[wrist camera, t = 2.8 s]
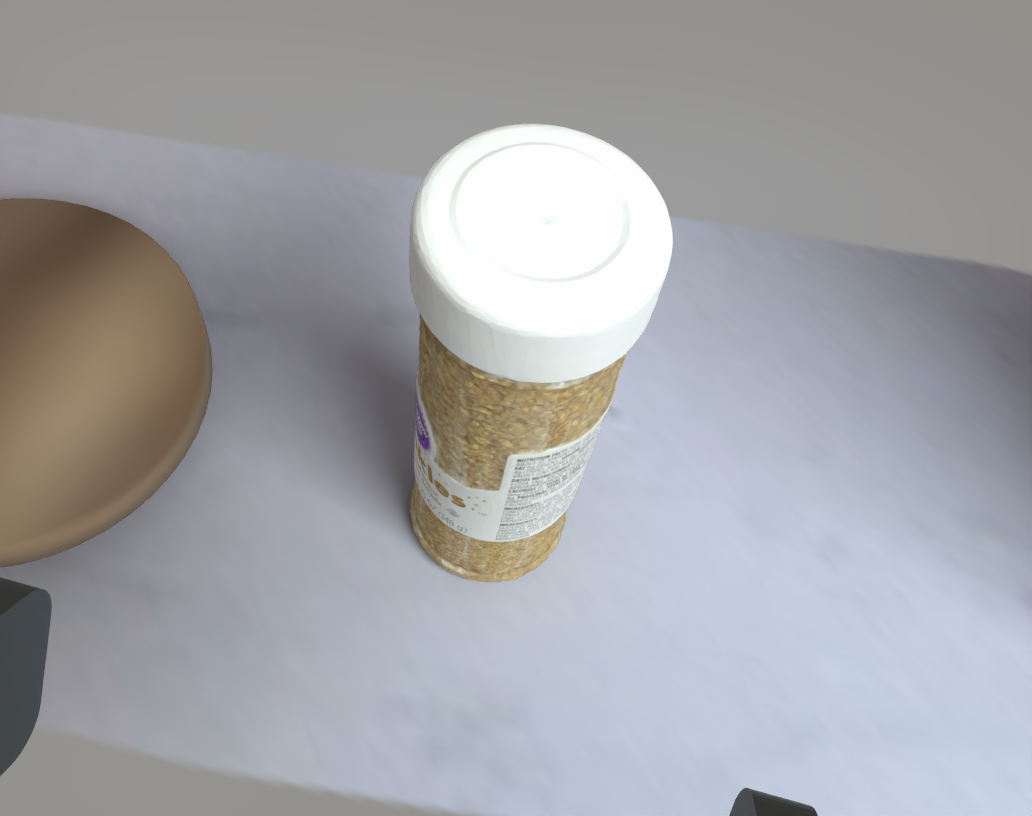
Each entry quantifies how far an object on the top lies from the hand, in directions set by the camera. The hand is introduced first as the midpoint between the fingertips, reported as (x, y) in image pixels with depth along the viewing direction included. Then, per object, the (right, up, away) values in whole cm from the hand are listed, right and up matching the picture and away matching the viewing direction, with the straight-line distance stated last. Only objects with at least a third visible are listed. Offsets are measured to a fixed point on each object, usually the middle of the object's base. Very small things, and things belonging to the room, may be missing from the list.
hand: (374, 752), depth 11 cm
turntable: (-13, +5, +16) cm, 21 cm away
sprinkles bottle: (+1, +1, +17) cm, 17 cm away
